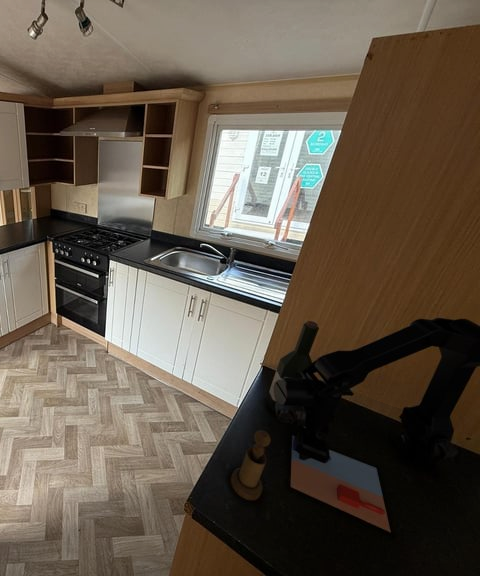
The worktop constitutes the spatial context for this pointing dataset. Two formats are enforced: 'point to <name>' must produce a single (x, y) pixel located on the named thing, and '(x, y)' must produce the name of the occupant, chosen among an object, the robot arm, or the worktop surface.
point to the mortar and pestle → (251, 469)
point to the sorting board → (343, 472)
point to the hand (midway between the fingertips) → (301, 447)
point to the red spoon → (355, 499)
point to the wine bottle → (295, 359)
